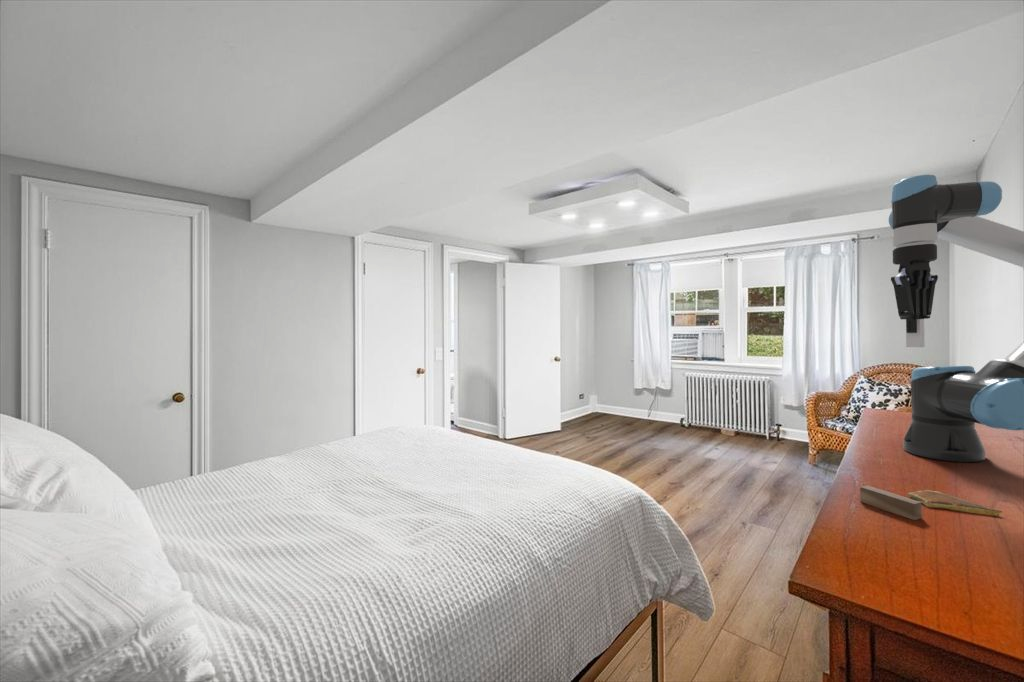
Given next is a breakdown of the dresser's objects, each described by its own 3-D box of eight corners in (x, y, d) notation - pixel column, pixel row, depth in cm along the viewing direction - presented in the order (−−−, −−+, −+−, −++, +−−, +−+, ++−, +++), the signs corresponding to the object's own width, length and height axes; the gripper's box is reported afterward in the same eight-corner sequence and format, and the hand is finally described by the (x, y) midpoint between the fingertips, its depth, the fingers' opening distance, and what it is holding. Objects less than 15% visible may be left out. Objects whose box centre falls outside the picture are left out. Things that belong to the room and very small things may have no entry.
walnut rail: (867, 499, 86) (867, 485, 86) (921, 518, 78) (921, 502, 78) (860, 501, 86) (860, 487, 86) (914, 520, 77) (914, 504, 77)
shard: (1002, 519, 77) (1002, 509, 77) (969, 525, 76) (969, 515, 76) (933, 496, 88) (933, 487, 88) (903, 501, 87) (903, 492, 86)
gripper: (912, 249, 105) (913, 345, 105) (877, 248, 100) (878, 348, 101) (952, 243, 97) (953, 345, 98) (915, 241, 93) (917, 349, 94)
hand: (915, 346), depth 100 cm, fingers closed
